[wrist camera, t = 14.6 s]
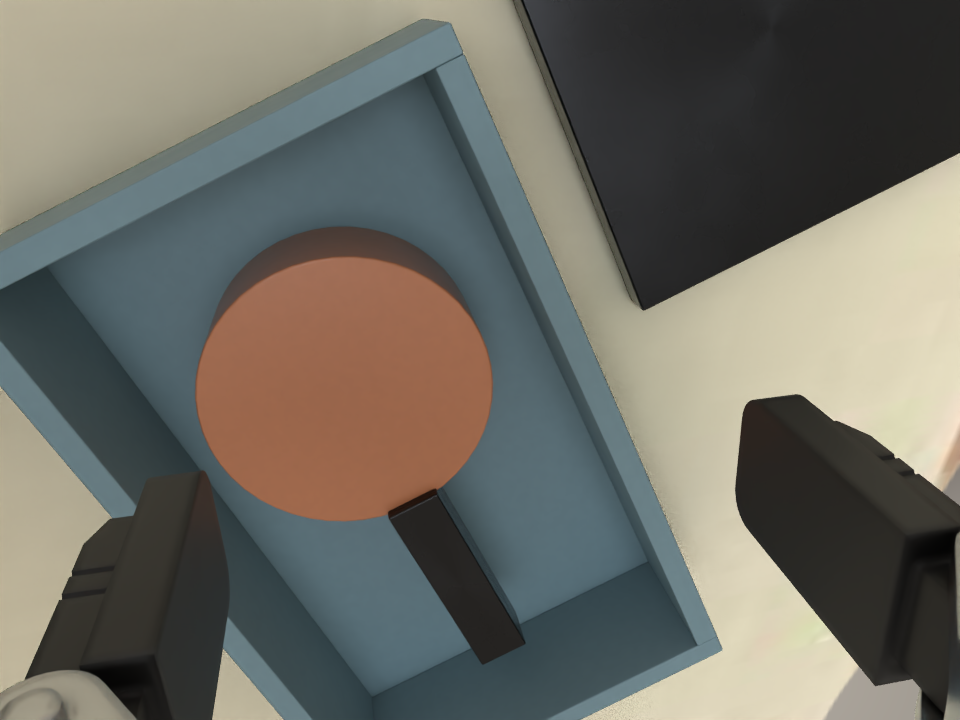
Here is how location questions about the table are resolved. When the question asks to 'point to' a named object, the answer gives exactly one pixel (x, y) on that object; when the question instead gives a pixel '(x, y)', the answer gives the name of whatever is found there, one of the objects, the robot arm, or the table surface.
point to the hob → (742, 117)
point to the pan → (358, 402)
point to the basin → (374, 542)
